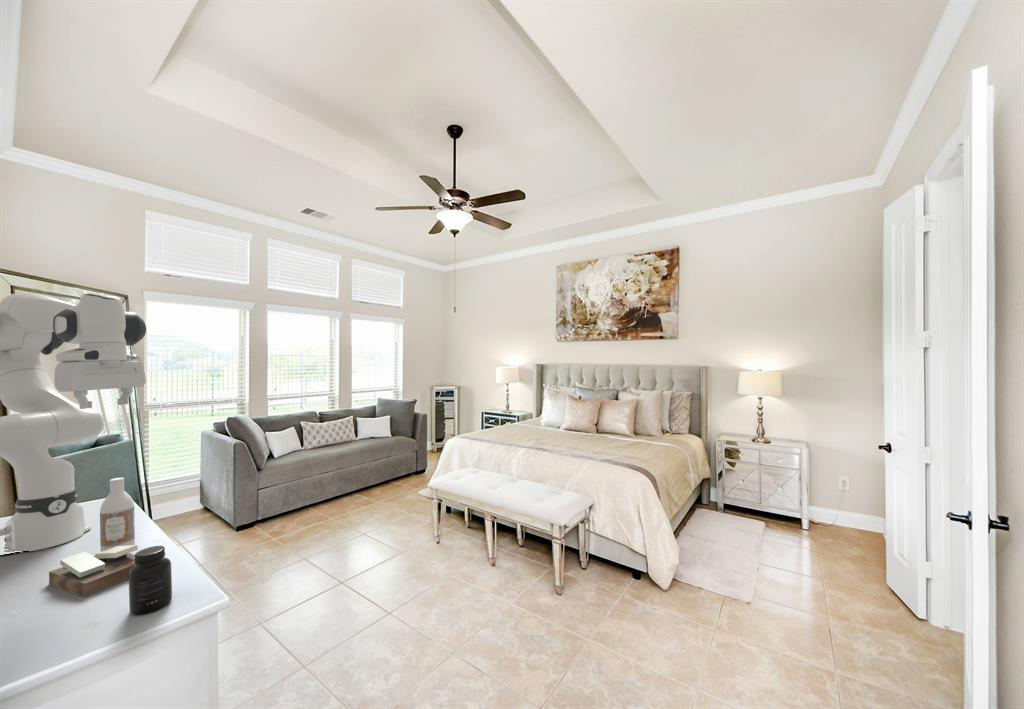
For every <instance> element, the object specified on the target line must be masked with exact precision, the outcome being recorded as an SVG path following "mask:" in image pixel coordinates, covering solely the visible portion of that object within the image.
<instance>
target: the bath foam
mask: <svg viewBox="0 0 1024 709" xmlns="http://www.w3.org/2000/svg"><path fill="white" fill-rule="evenodd" d="M135 528H136V526H135V502H134V499H133V497H132V496H131V495H130V494H129V493H128V492H127V491H125V477H115V478H111V479H110V480H109V493H108V495H107V496H106V498H105V499H104V500H103V502H102V504H101V506H100V510H99V534H100V538H99V539H100V541H99V543H100V552H102V551H105V550H108V549H111V548H114V547H116V546H128V545H136V543H135V542H136V537H135V536H136V534H135V532H136V530H135Z"/></svg>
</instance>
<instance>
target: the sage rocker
mask: <svg viewBox="0 0 1024 709" xmlns="http://www.w3.org/2000/svg"><path fill="white" fill-rule="evenodd" d="M94 556H95V555H92V554H90V553H89V552H87V551H85V550H84V551H82V552H79V553H77V554H74V555H69V556H67V557H64V558H62V559H60V561H59V565H60V566H61V567H65V568H66V569H68V570H69V571H71V572H72V573H74V574H75V575H77V576H78V577H80V578H81V577H83V576H86V575H89V574H91V573H94V572H97V571H99V570H102V569H105V563H104V562H102V561H100V560H99V559H97V558H96V557H94Z"/></svg>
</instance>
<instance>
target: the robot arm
mask: <svg viewBox="0 0 1024 709" xmlns="http://www.w3.org/2000/svg"><path fill="white" fill-rule="evenodd" d="M146 333H147V326H146V323H145V321H144V319H143V318H142V317H141V316H139V314H137V313H136V312H135V311H125V307H124V304H123V301H122V299H121V298H120V297H118V296H116V295H115V296H114V295H110V294H109V295H108V294H107V295H106V294H99V293H84V294H81V295H80V298H79V302H78V303H77V304H74V303H71V302H67V301H64V300H61V299H59V298H54V297H52V296H49V295H44V294H41V293H36V292H17V293H11V294H9V295H7V296H5V297H3V299H1V301H0V401H1V403H2V405H3V406H4V407H5V408H7V409H8V410H10V411H11V412H15V413H13V414H9V415H3V416H0V458H2V459H3V460H5V461H6V462H8V463H9V464H10V465H11V468H13V470H14V472H15V474H16V480H17V481H16V482H17V489H18V490H17V491H18V498H17V499H16V502H15V504H14V514H13V515H12V516H11V517H10V518H9V519H8V521H6V522H5V524H4V525H5V526H3V527H0V537H3V536H4V537H5V538H4V537H3V538H4V541H5V543H6V544H5V547H4V549H8V550H5V551H4V552H11V551H12V552H14V551H22V552H21V553H24V552H23V551H29V552H33V551H40V550H45V549H49V548H52V547H53V548H54V547H56V546H59V545H62V544H65V543H68V542H71V541H74V540H76V539H79V537H82V536H83V535H84V534H85V533H87V532H88V530H89V531H91V530H92V527H91V525H86V520H85V513H84V506H83V505H82V504H80V503H77V500H78V492H77V491H78V490H77V489H76V487H75V486H76V485H75V466H74V465H73V464H72V462H70V461H68V460H67V459H63V458H58V457H57V458H56V457H52V456H51V454H50V452H49V448H54V447H60V446H67V445H72V444H73V445H75V444H79V443H82V442H85V441H87V440H88V441H89V440H91V439H95V438H97V437H99V435H100V434H101V433H102V431H103V430H104V426H105V421H104V420H105V419H104V417H103V416H102V414H101V412H99V411H98V410H96V409H94V408H93V401H90V400H89V399H88V398H87V395H88V391H98V390H99V391H100V390H110V389H111V390H112V389H120V392H121V395H120V397H119V398H117V399H116V400H117V402H116V403H117V405H118V406H123V405H129V398H130V397H131V395H132V394H133V391H134V390H133V388H140V387H144V386H145V385H146V383H147V380H146V374H145V373H146V372H145V368H144V364H143V360H142V359H141V358H140V357H139V356H138V355H137V354H131V355H130V354H129V355H128V354H127V353H128V352H127V346H129V347H131V346H132V347H133V346H135V345H136V344H138V343H139V342H141V340H143V339H144V337H145V336H146ZM65 343H68V344H73V345H74V344H75V345H77V344H78V345H79V346H78V347H76V348H73V349H69V350H66V351H65V350H64V351H61V352H58V353H56V355H55V359H56V361H57V362H59V363H57V364H56V365H55V369H54V384H53V381H52V379H51V378H50V375H49V374H48V373H47V370H46V369H45V367H44V366H43V364H42V363H41V361H40V355H41V354H43V355H45V356H48V355H50V354H52V353H53V351H55V350H57V349H58V348H60V347H61V346H62V345H63V344H65ZM66 392H67V393H68V392H73V397H74V398H75V400H76V401H77V403H79V404H77V403H75V402H74V401H72V400H70V399H69V398H67V397H66V396H64V395H63V394H62V393H66ZM90 529H91V530H90ZM86 531H87V532H86ZM84 532H85V533H84ZM2 540H3V539H2Z"/></svg>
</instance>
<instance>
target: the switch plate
mask: <svg viewBox="0 0 1024 709" xmlns="http://www.w3.org/2000/svg"><path fill="white" fill-rule="evenodd" d="M93 556H94V557H96V555H93ZM98 559H99V560H100V561H102V562H104V563H105V569H102V570H99V571H97V572H94V573H91V574H89V575H86V576H83V577H81V578H80V577H78V576H77V575H75V574H74V573H72V572H71V571H69V570H68V569H66V568H65V567H63V566H61V567H58V568H56V569H53V570H50V571H48V576H49V579H48V581H49V582H48V583H49V585H51V586H53V587H56V588H59V589H60V590H64V591H66V592H69V593H72V592H73V593H72V594H75V595H77V594H78V596H80V597H84V598H86V596H87V597H89V596H91V594H92V595H94V594H96V593H98V592H102V591H104V590H106V589H109V588H111V587H114V586H116V585H118V584H120V583H123V582H125V581H127V580H128V581H129V572H130V570H131V569H132V568H133V567H134V566H135V564H134V561H135V554H134V553H133V554H132V553H128V554H125V555H122V556H119V557H117V558H98Z"/></svg>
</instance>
